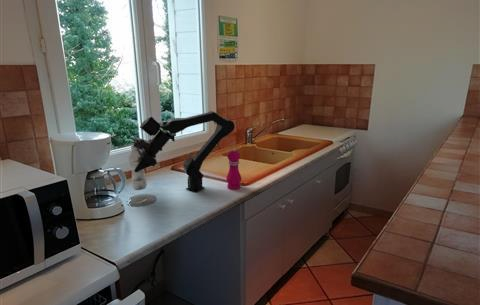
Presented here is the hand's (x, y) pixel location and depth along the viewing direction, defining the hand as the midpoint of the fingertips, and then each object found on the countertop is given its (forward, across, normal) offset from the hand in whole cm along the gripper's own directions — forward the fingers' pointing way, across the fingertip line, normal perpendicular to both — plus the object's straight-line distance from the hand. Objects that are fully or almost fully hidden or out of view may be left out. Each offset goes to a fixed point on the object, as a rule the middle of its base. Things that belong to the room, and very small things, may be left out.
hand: (134, 169), depth 139 cm
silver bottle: (+6, 0, +8) cm, 10 cm away
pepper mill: (-22, +4, +41) cm, 47 cm away
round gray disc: (+8, +4, +10) cm, 14 cm away
